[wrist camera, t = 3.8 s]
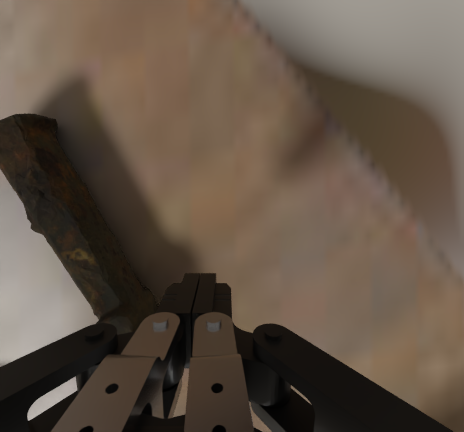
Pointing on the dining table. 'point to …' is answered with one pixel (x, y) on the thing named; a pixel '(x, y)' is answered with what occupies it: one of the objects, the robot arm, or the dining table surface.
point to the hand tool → (71, 221)
